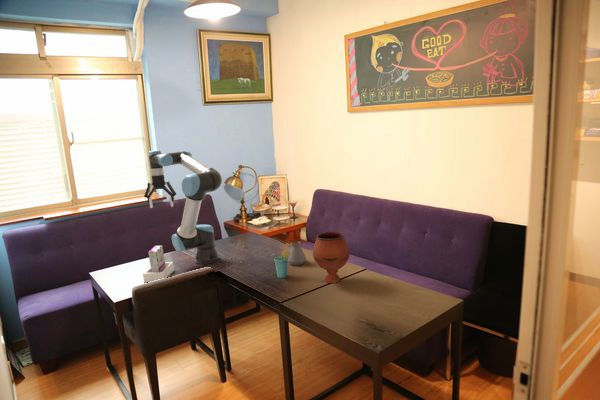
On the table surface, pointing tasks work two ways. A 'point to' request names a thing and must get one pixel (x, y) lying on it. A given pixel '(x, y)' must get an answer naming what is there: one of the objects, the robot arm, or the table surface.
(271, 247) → the table surface
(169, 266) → the white open box
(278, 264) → the cup
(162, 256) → the candy bar box
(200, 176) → the robot arm
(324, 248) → the goblet
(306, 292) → the table surface
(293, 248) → the coffee pot
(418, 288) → the table surface
